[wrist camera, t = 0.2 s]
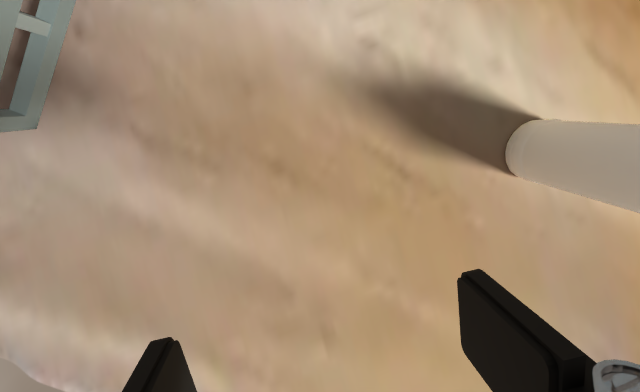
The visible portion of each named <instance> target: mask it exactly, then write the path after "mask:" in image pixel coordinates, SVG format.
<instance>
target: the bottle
mask: <svg viewBox="0 0 640 392" xmlns="http://www.w3.org/2000/svg"><path fill="white" fill-rule="evenodd" d="M505 157H506V164H507V166H508V168H509V170H510V171H511V172H512V173H513V174H515V175H516V176H517V177H521V178H523V179H525V180H528V181H531V182H535V183H538V184H544V185H547V186H551V187H554V188H557V189H561V190H564V191H567V192H571V193H574V194H577V195H581V196H584V197H587V198H591V199H594V200H597V201H601V202H604V203H607V204H611V205H614V206H617V207H621V208H624V209H627V210H631V211H634V212H637V213H640V125H637V124H618V123H599V122H580V121H562V120H558V119H546V120H531V121H529V122H527V123H525V124H522V125H521V126H520V127H519V128H518V129H517V130H515V131H514V132H513V134H512V136H511V137H510V139H509V141H508V142H507V147H506V151H505Z"/></svg>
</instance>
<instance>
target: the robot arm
mask: <svg viewBox="0 0 640 392" xmlns="http://www.w3.org/2000/svg"><path fill="white" fill-rule="evenodd" d="M457 286H458V302H459V317H460V333H461V345H462V348H463V351H464V353H465V355H466V356H467V358H468V359H469V360H470V362H471V363H472V364H473V366H474V367H475V368H476V370H477V371H478V372H479V374H480V375H481V377H482V378H483V379H484V381H485V382H486V383H487V385H488V386H489V387H490V389H491V390H492V391H493V392H640V365H638V364H635V363H632V362H628V361H622V360H604V361H601V362H598V363H596V362H595V361H593V360H592V359H591V358H590V357H588V356H587V355H586V354H585V353H583V352H582V351H581V350H580V349H579V348H577V347H576V346H575V345H574V344H572V343H571V342H570V341H569V340H567V339H566V338H565V337H564V336H563V335H561V334H560V333H559V332H558V331H556V330H555V329H554V328H553V327H552V326H550V325H549V324H548V323H547V322H545V321H544V320H543V319H542V318H540V317H539V316H538V315H537V314H536V313H534V312H533V311H532V310H531V309H529V308H528V307H527V306H525V305H524V304H523V303H522V302H521V301H519V300H518V299H517V298H516V297H514V296H513V295H512V294H511V293H510V292H508V291H507V290H506V289H505V288H503V287H502V286H501V285H500V284H498V283H497V282H496V281H495V280H494V279H492V278H491V277H490V276H489V275H487V274H486V273H485V272H484V271H483V270H481V269H476V270H472V271H467V272H463V273H462V275H461V278H458V280H457ZM122 392H197V390H196V388H195V385H194V382H193V379H192V376H191V374H190V371H189V368H188V365H187V362H186V360H185V357H184V354H183V351H182V348H181V346H180V343H179V341H177V340H176V341H174V340H173V339H172V338H171V337H168V338H163V339H159V340H154V341H151V342H150V343H149V345H148V347H147V348H146V350H145V352H144V354H143V355H142V357H141V359H140V361H139V362H138V364H137V366H136V368H135V369H134V371H133V373H132V375H131V377H130V378H129V380H128V382H127V384H126V385H125V387H124V389H123V391H122Z"/></svg>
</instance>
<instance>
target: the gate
mask: <svg viewBox="0 0 640 392" xmlns="http://www.w3.org/2000/svg"><path fill="white" fill-rule="evenodd" d="M22 1H23V0H0V81H1V77H2V73H3V70H4V66H5V62H6V59H7V55H8V52H9V48H10V44H11V41H12V37H13V33H14V30H15V27H16V28H19V29H22V30H26V31H29V32H31V34H30V37H29V41H28V44H27V48H26V51H25V55H24V58H23V62H22V65H21V69H20V72H19V76H18V79H17V83H16V86H15V90H14V93H13V97H12V100H11V104H10V107H9V109H0V132H8V131H19V130H30V129H37V125H38V122H39V119H40V116H41V112H42V109H43V106H44V103H45V99H46V96H47V93H48V90H49V86H50V83H51V80H52V77H53V73H54V70H55V67H56V64H57V60H58V57H59V54H60V51H61V47H62V44H63V41H64V38H65V34H66V31H67V28H68V25H69V21H70V18H71V15H72V12H73V8H74V5H75V2H76V0H40V2H39V6H38V9H37V13H36V16H32V15H29V14H26V13H24V12H21V11H20V8H21V4H22Z"/></svg>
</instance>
